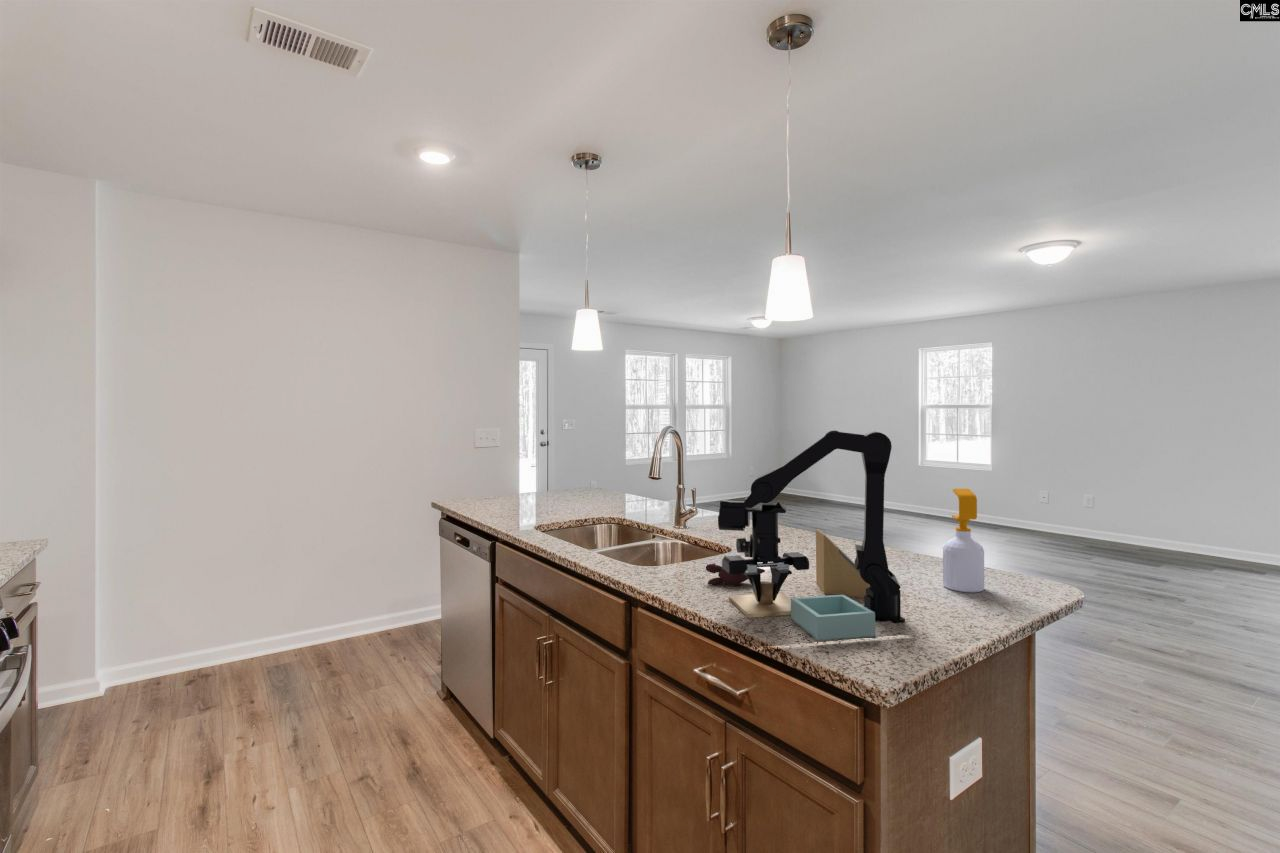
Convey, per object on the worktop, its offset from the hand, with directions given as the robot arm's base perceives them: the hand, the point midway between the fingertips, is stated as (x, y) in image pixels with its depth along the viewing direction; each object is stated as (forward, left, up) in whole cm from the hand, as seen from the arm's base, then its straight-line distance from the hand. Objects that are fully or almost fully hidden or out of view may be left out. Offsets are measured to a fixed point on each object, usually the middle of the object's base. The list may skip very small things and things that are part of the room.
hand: (765, 600), depth 134 cm
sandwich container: (-26, -8, -2) cm, 27 cm away
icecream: (+1, -19, -2) cm, 19 cm away
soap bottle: (-54, -5, -2) cm, 54 cm away
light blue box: (-8, +15, -2) cm, 17 cm away
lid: (0, 0, -1) cm, 1 cm away
